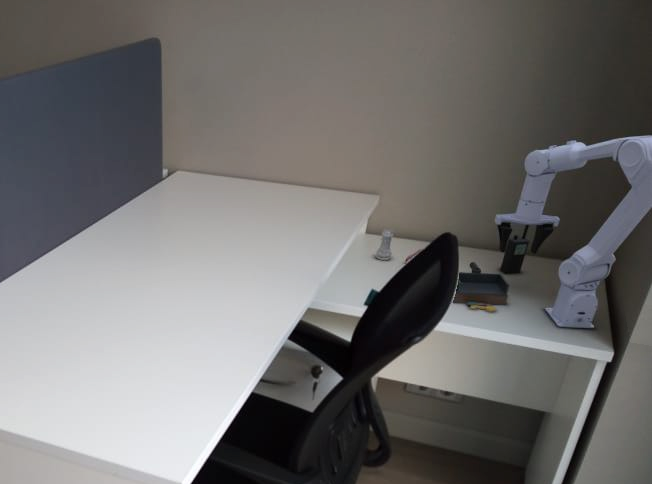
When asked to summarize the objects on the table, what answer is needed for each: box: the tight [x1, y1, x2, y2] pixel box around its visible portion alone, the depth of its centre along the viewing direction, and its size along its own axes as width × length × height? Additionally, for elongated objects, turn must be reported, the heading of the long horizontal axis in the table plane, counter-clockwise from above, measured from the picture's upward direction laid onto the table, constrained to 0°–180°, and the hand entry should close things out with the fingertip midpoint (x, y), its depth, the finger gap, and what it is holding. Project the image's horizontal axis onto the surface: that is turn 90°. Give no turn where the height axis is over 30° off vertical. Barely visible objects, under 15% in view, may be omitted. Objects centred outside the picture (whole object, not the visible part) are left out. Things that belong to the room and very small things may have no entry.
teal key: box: [466, 302, 492, 307], centre depth 182 cm, size 5×2×1 cm, turn 85°
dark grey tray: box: [456, 261, 511, 296], centre depth 185 cm, size 11×12×4 cm
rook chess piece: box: [375, 229, 394, 261], centre depth 207 cm, size 4×4×8 cm
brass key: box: [469, 305, 496, 313], centre depth 180 cm, size 6×2×1 cm, turn 67°
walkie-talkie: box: [499, 224, 530, 274], centre depth 196 cm, size 5×3×15 cm
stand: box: [452, 293, 509, 305], centre depth 186 cm, size 8×13×2 cm, turn 82°
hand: (517, 251), depth 186 cm, fingers open, 7 cm apart
